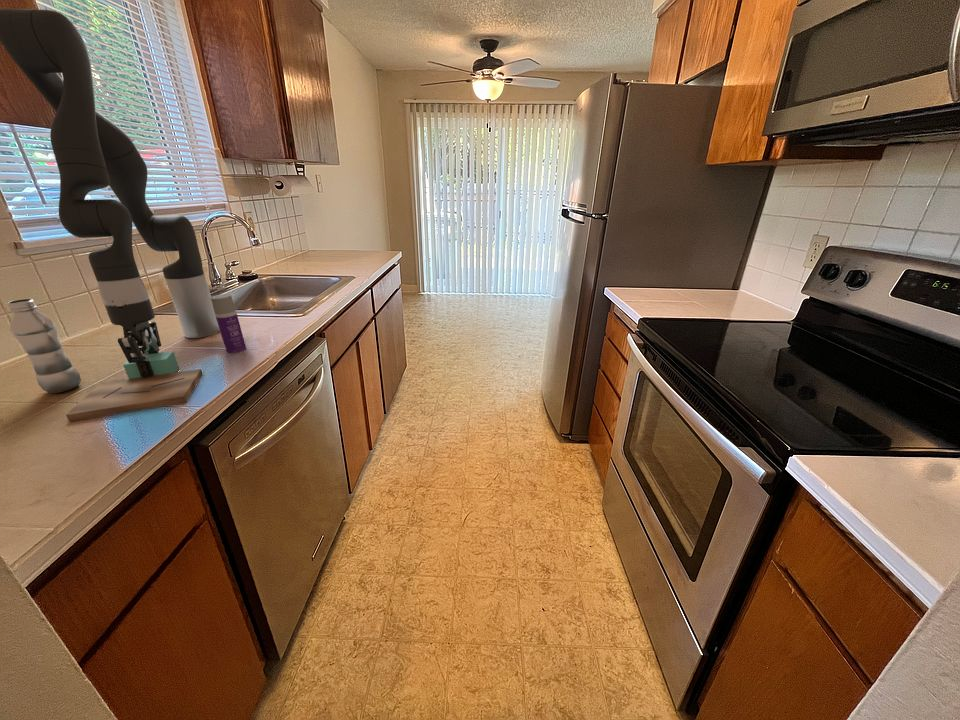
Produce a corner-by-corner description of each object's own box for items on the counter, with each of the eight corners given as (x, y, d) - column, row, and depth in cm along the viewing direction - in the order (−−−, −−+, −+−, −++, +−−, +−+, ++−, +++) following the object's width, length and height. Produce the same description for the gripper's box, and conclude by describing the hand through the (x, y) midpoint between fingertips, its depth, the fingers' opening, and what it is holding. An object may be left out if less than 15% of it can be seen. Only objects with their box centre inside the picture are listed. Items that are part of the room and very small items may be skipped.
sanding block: (140, 375, 93) (132, 356, 91) (180, 370, 96) (173, 351, 94) (131, 385, 89) (123, 364, 87) (173, 378, 91) (166, 359, 89)
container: (237, 355, 103) (221, 299, 97) (222, 354, 104) (205, 298, 98) (250, 348, 108) (235, 294, 101) (235, 347, 109) (220, 293, 102)
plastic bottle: (49, 399, 83) (0, 307, 75) (39, 391, 87) (-8, 302, 78) (89, 387, 88) (47, 299, 80) (78, 380, 92) (37, 295, 83)
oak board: (103, 388, 87) (100, 382, 87) (203, 374, 93) (201, 368, 93) (69, 421, 75) (65, 414, 75) (186, 402, 81) (183, 395, 81)
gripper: (120, 295, 90) (145, 364, 97) (87, 309, 78) (119, 387, 84) (159, 291, 93) (181, 359, 99) (133, 305, 80) (161, 381, 86)
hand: (152, 371), depth 92 cm, fingers closed on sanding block, 5 cm apart
